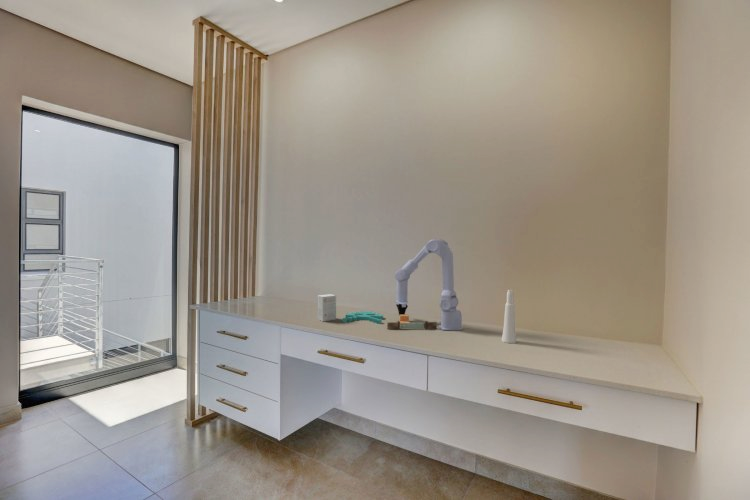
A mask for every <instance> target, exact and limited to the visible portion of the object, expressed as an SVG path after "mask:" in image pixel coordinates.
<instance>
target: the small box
mask: <svg viewBox="0 0 750 500" xmlns="http://www.w3.org/2000/svg"><path fill="white" fill-rule="evenodd" d="M316 301H317V312H316V313H317V317H316V319H317V320H318V321H320V320H321V321H320V322H323V321H324V322H329V321H336V320H337V295H335V294H332V293H328V294H318V295H317V300H316Z"/></svg>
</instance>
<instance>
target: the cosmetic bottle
mask: <svg viewBox="0 0 750 500" xmlns="http://www.w3.org/2000/svg"><path fill="white" fill-rule="evenodd" d="M514 301H515V300H514V290H513V289H507V292H506V303H505V305H504V307H505V308H504V317H503V330H502V335H501V342H503V343H508V344H516V343H517V341H518V340H517V335H516V314H515V313H516V312H515V311H516V310H515V306H516V305H515V303H514Z"/></svg>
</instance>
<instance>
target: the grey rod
mask: <svg viewBox="0 0 750 500" xmlns="http://www.w3.org/2000/svg"><path fill="white" fill-rule="evenodd" d="M400 329H425V322H410V323H400Z"/></svg>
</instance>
